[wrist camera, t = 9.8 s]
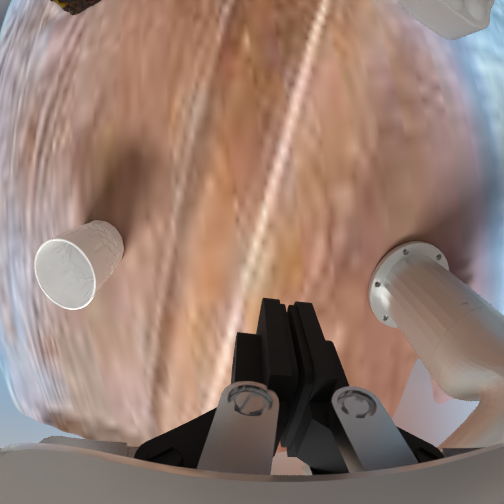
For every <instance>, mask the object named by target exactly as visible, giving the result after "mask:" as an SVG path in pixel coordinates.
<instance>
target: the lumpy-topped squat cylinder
mask: <svg viewBox="0 0 504 504" xmlns="http://www.w3.org/2000/svg"><path fill="white" fill-rule="evenodd" d="M397 1H398V3H399V4H400V5H401V6H402V8H403V9H404V10H405V11H406V12H407V13H408V14H409V15H411V16H412V17H413V18H415V19H416V20H417V21H419V22H420V23H421V24H423V25H424V26H426V27H427V28H429V29H430V30H432V31H434V32H435V33H437V34H438V35H440V36H441V37H443V38H446V39H449V40H456V39H458V38H461V37H464V36H466V35H469V34H472V33H474V32H477V31H480V30H482V29H485V28H487V27H488V25H489V22H490V10H491V8H492V6H493V4H494V0H397Z"/></svg>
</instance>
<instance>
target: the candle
mask: <svg viewBox="0 0 504 504" xmlns="http://www.w3.org/2000/svg"><path fill="white" fill-rule="evenodd" d="M51 1H54V2H56V3H57V4H58V5H60V6H61V7H62V9H63V10H64V11H66V12H70V14H72V15H77V14H79V13H80V12H82V11H84V10H85V9H87V8H88V7H90V6H93V5H94V4H96V3H98V2H100V1H101V0H51Z"/></svg>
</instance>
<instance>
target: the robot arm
mask: <svg viewBox="0 0 504 504" xmlns="http://www.w3.org/2000/svg"><path fill="white" fill-rule="evenodd" d="M404 249H405V250H404ZM368 296H369V303H370V307H371V309H372V311H373V313H374V314H375V315H376V317H377V318H378V319H379V320H380V321H381V322H382V323H384V324H385V325H387V326H390V327H394V328H399V329H400V331H401V332H402V333H403V335H404V336H405V338H406V339H407V341H408V342H409V343H410V345H411V346H412V348H413V349H414V351H415V352H416V354H417V355H418V356H419V358H420V359H421V361H422V362H423V364H424V365H425V367H426V368H427V370H428V371H429V373H430V374H431V376H432V377H433V379H434V380H435V381H436V383H437V384H438V386H439V387H440V388H441V390H442V391H444V392H445V393H446V394H447V395H449V396H451V397H453V398H455V399H459V400H465V401H480V403H479V405H478V406H477V407H476V409H475V410H474V411H473V412H472V413H471V414H470V415H469V417H468V418H467V419H466V420H465V422H464V423H463V424H461V425H460V427H459V428H457V429H456V430H455V431H454V432H453V433H452V434H451V435H450V436H449V437H448V438H447V439H446V440H445V441H444V442H443V443H442V444H441V445H440V446H439V447H437V448H436V447H434V446H433V445H432V444H430V443H428V442H426V441H424V440H422V439H420V438H418V437H416V436H414V435H412V434H410V433H408V432H406V431H404V430H402V429H401V428H398V427H397V426H395V424H394V422H393V421H392V419H391V418H390V416H389V414H388V413H387V411H386V410H385V408H384V407H383V405H382V403H381V402H380V400H379V399H378V398H377V397H376V396H375V395H374V394H373V393H371V392H370V391H368V390H365V389H363V388H359V387H351V386H349V384H348V381H347V378H346V376H345V373H344V370H343V368H342V365H341V362H340V360H339V357H338V354H337V352H336V349H335V347H334V344H333V342H332V341H326V340H325V338H324V335H323V333H322V330H321V327H320V324H319V321H318V319H317V316H316V313H315V310H314V308H313V305H312V303H306V302H295V303H294V305H289V306H288V310H287V312H286V307H285V304H280V301H279V300H278V299H269V298H263V299H262V304H261V310H260V315H259V321H258V327H257V332H256V334H248V333H240V332H237V336H236V342H235V349H234V357H233V365H232V377H231V384H230V385H229V386H228V387H226V388H225V389H224V391H223V393H222V395H221V398H220V401H219V404H218V407H217V408H215V409H213V410H211V411H209V412H207V413H205V414H203V415H201V416H199V417H197V418H195V419H193V420H191V421H189V422H187V423H185V424H183V425H181V426H179V427H177V428H175V429H173V430H171V431H168V432H166V433H164V434H162V435H160V436H158V437H155V438H153V439H151V440H149V441H147V442H145V443H144V444H142V445H141V446H140V447H129V446H128V445H127V443H123V442H108V441H96V440H87V439H77V438H70V437H63V436H51V437H48V438H45V439H43V440H42V441H41V442H39V443H21V444H14V445H9V446H6V447H3V448H0V504H504V315H503V314H502V313H500V312H499V311H498V310H497V309H495V308H494V307H493V306H492V305H491V304H490V303H488V302H487V301H486V300H485V299H483V298H482V297H481V296H480V295H479V294H477V293H476V292H475V291H474V290H472V289H471V288H470V287H469V286H467V285H466V284H465V283H464V282H462V281H461V280H460V279H458V278H457V277H456V276H455V275H453V274H452V273H451V272H450V271H449V265H448V262H447V259H446V258H445V256H444V254H443V253H442V252H441V251H440V250H439V249H438V248H436V247H435V246H433V245H432V244H429V243H427V242H423V241H411V242H407V243H404V244H401V245H399V246H397V247H396V248H394V249H393V250H391V251H390V252H389V253H388V254H387V255H386V256H385V257H384V258H382V260H381V261H380V262H379V264H378V265H377V267H376V268H375V270H374V272H373V274H372V277H371V280H370V283H369V290H368ZM279 442H280V443H281V447H287V455H288V457H297V458H299V459H300V460H302V461H303V465H302V468H303V473H304V475H297V476H296V475H292V476H291V475H290V476H288V475H282V476H281V475H280V476H279V475H270V474H271V466H272V459H273V457H274V456H275V453H276V450H277V447H278V444H279Z"/></svg>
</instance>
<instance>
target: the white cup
mask: <svg viewBox="0 0 504 504" xmlns="http://www.w3.org/2000/svg"><path fill="white" fill-rule="evenodd" d="M123 252H124V245H123V240H122V237H121V235H120V234H119V232H118V231H117V229H116V228H115V227H114V226H112V225H111V224H109V223H108V222H106V221H100V220H94V221H91V222H89V223H87V224H84V225H80V226H78V227H74V228H73V229H70V230H68V231H66V232H64V233H62V234H60V235H58V236H56V237H54V238H51V239H49V240H47V241H46V242H44V243H43V244H42V245H41V246H40V248H39V249H38V251H37V254H36V257H35V273H36V277H37V280H38V283H39V285H40V287H41V289H42V290H43V292H44V293H45V294H46V296H47V297H48V298H49V299H50V300H51V301H53V302H54V303H55V304H57V305H59V306H61V307H63V308H66V309H71V310H76V309H81V308H83V307H85V306H87V305H88V304H89V303H90V302H91V300H92V299H93V298H94V296H95V295H96V294H97V292H98V291H99V290H100V289H101V287H102V286H103V285H104V283H105V282H106V281H107V280H108V278H109V277H110V276H111V274H112V273H113V271H114V269H115V268H116V266H117V265H118V264H119V263H120V261H121V260H122V256H123Z"/></svg>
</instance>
